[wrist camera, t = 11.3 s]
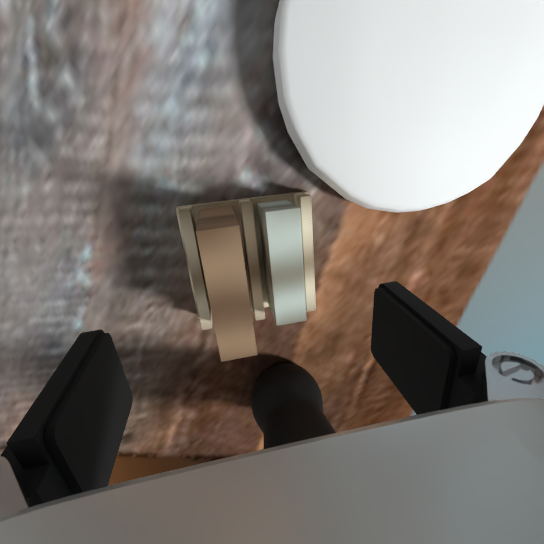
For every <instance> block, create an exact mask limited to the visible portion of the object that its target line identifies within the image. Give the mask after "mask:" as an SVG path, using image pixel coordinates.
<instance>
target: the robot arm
mask: <svg viewBox="0 0 544 544" xmlns="http://www.w3.org/2000/svg"><path fill="white" fill-rule="evenodd" d="M481 349H482V346H481V345H479V344H478V343H477V342H475V341H474V340H473V339H471V338H470V337H469V336H467V335H466V334H465V333H463V332H462V331H461V330H460V329H458V328H457V327H456V326H454V325H453V324H452V323H450V322H449V321H448V320H447V319H445V318H444V317H443V316H441V315H440V314H439V313H437V312H436V311H435V310H433V309H432V308H431V307H430V306H428V305H427V304H426V303H424V302H423V301H422V300H420V299H419V298H418V297H416V296H415V295H414V294H412V293H411V292H410V291H409V290H407V289H406V288H405V287H403V286H402V285H401V284H399V283H398V282H396V281H395V282H388V283H382V284H380V285H379V287H378V288H376V289H375V292H374V307H373V322H372V338H371V351H372V354H373V356H374V358H375V359H376V361H377V362H378V363H379V365H380V366H381V367H382V369H383V370H384V371H385V373H386V374H387V375H388V377H389V378H390V379H391V381H392V382H393V383H394V385H395V386H396V387H397V389H398V390H399V391H400V393H401V394H402V395H403V397H404V398H405V399H406V401H407V402H408V403H409V405H410V406H411V407H412V409H413V410H414V411H415V413H416V414H417V415H414V416H410V417H405V418H401V419H396V420H392V421H387V422H383V423H378V424H374V425H369V426H365V427H360V428H356V429H351V430H347V431H342V432H338V433H333V434H329V435H324V436H320V437H316V438H311V439H307V440H302V441H298V442H294V443H289V444H285V445H280V446H276V447H272V448H267V449H263V450H259V451H254V452H250V453H245V454H241V455H237V456H232V457H228V458H224V459H219V460H215V461H211V462H207V463H202V464H198V465H194V466H190V467H186V468H181V469H177V470H173V471H168V472H164V473H160V474H155V475H151V476H147V477H143V478H138V479H134V480H130V481H126V482H123V483H118V484H114V485H110V486H108V482H109V479H110V476H111V473H112V469H113V466H114V463H115V459H116V456H117V453H118V450H119V446H120V443H121V440H122V436H123V433H124V430H125V426H126V423H127V420H128V416H129V413H130V410H131V406H132V393H131V390H130V387H129V384H128V382H127V379H126V376H125V373H124V371H123V368H122V365H121V362H120V360H119V357H118V354H117V352H116V349H115V346H114V343H113V341H112V338H111V336H110V334H109V333H104V332H103V330H96V331H90V332H84V333H81V334H80V335H79V337H78V338H77V340H76V341H75V343H74V344H73V346H72V347H71V348H70V350H69V351H68V353H67V354H66V356H65V357H64V359H63V360H62V362H61V363H60V365H59V366H58V368H57V369H56V371H55V372H54V374H53V375H52V377H51V378H50V379H49V381H48V382H47V384H46V385H45V387H44V388H43V390H42V391H41V393H40V394H39V396H38V397H37V399H36V400H35V402H34V403H33V405H32V406H31V408H30V409H29V410H28V412H27V413H26V415H25V416H24V418H23V419H22V421H21V422H20V424H19V425H18V427H17V428H16V430H15V431H14V433H13V434H12V436H11V437H10V439H9V440H8V441H7V447H6V448H5V450H4V451H3V453H2V454H1V456H0V544H544V366H543V365H541V364H539V363H538V362H536V361H535V360H533V359H530V358H528V357H525V356H523V355H520V354H516V353H511V352H494V353H491V354H489V355H488V356H485V355H484V354H483V353H482V352H481Z"/></svg>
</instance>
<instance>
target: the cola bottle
mask: <svg viewBox="0 0 544 544" xmlns="http://www.w3.org/2000/svg"><path fill="white" fill-rule="evenodd" d="M252 411H253V415H254V418H255V420H256V422H257V424H258V426H259V427H260V429H261V430H262V432H263V433H264V449H267V448H272V447H276V446H280V445H285V444H289V443H294V442H298V441H302V440H307V439H311V438H316V437H320V436H324V435H329V434H333V433H336V432H335V430H334V429H333V427H332V426H331V424H330V423H329V421H328V420H327V418H326V417H325V415H324V414H323V403H322V395H321V391H320V389H319V386H318V384H317V383H316V381H315V380H314V378H313V377H312V376H311V375H310V374H309V373H308V372H307V371H306V370H305V369H303V368H302V367H300V366H298V365H295V364H290V363H283V364H278V365H274V366H272V367H270V368H268V369H267V370H265V371H264V372H263V373H262V374H261V375H260V376H259V378H258V379H257V381H256V383H255V385H254V389H253V393H252Z"/></svg>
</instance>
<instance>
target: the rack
mask: <svg viewBox="0 0 544 544" xmlns="http://www.w3.org/2000/svg"><path fill="white" fill-rule="evenodd" d="M226 206H232V209H233V211H234V214H235V216H236V219H237V221H238V224H239V227H240V234H241V241H242V249H243V256H244V263H245V270H246V277H247V284H248V291H249V298H250V305H251V310H252V309H253V312H254V316H255V319H256V320H262V319H265V312H264V307H270V310H271V312H272V315H273V318H274V320H275V323H276V325H277V326H278V325H284V324H289V323H295V322H301V321H306V320H307V319H306V311H313V310H316V302H315V278H314V254H313V231H312V207H311V196H310V195H308V192H306V191H302V192H294V193H285V194H277V195H269V196H260V197H252V198H243V199H235V200H227V201H218V202H210V203H201V204H193V205H185V206H176V208H175V209H176V214H177V218H178V223H179V228H180V233H181V238H182V242H183V247H184V252H185V257H186V262H187V266H188V271H189V276H190V281H191V286H192V291H193V295H194V300H195V305H196V310H197V315H198V319H199V318H200V321H201V326H202V330H205V329H211V328H212V312H211V307H210V301H209V296H208V291H207V286H206V281H205V276H204V271H203V266H202V261H201V256H200V251H199V246H198V240H197V235H196V228H197V223H198V218H199V213H200V210H203V209H211V208H219V207H226Z"/></svg>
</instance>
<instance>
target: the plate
mask: <svg viewBox="0 0 544 544" xmlns="http://www.w3.org/2000/svg"><path fill="white" fill-rule="evenodd" d="M273 65H274V72H275V80H276V88H277V96H278V104H279V107H280V110H281V113H282V116H283V119H284V122H285V125H286V128H287V132H288V134H289V135H290V137H291V139H292V141H293V143H294V144H295V146H296V148H297V150H298V151H299V153H300V155H301V157H302V159H303V160H304V162H305V164H306V166H307V167H308V169H309V170H310V171H312V172H313V173H314V174H315V175H317V176H318V177H319V178H320V179H322V180H323V181H324V182H325V183H326V184H328V185H329V186H330V187H331V188H333V189H334V190H335V191H336V192H337V193H339V194H340V195H341V196H342V197H344V198H345V199H346V200H349V201H351V202H353V203H356V204H358V205H360V206H362V207H365V208H368V209H375V210H382V211H389V212H396V213H397V212H409V211H419V210H424V209H428V208H431V207H434V206H438V205H441V204H445V203H448V202H450V201H452V200H454V199H456V198H458V197H460V196H463V195H465V194H467V193H469V192H470V191H472V190H473V189H475V188H477V187H478V186H480V185H481V184H483V183H484V182H486V181H487V180H489V179H490V178H492V176H493V175H494V174H495V173H496V172H497V171H498V169H499V168H500V167H501V166H502V165H503V164H504V162H505V161H506V160H507V159H508V158H509V157H510V156H511V154H512V153H513V152H514V151H515V150H516V149H517V147H518V146H519V145H520V144H521V142H522V141H523V139H524V138H525V136H526V135H527V133H528V132H529V130H530V129H531V127H532V126H533V124H534V122H535V121H536V119H537V118H538V116H539V113H540V111H541V109H542V107H543V105H544V0H280V1H279V5H278V9H277V13H276V18H275V24H274V43H273Z"/></svg>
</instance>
